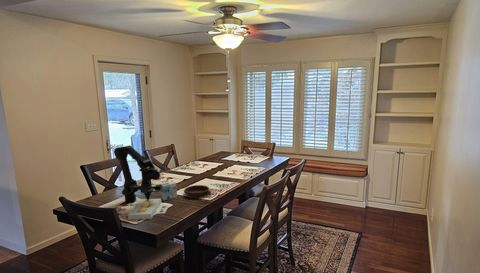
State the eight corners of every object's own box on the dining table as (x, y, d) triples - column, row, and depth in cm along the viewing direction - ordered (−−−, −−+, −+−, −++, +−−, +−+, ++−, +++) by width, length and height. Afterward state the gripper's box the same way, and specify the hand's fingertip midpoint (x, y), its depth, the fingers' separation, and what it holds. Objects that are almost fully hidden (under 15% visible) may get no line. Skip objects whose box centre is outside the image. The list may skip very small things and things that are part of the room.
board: (128, 219, 178) (127, 215, 178) (141, 203, 204) (140, 199, 204) (151, 218, 179) (150, 214, 178) (161, 202, 204) (161, 198, 204)
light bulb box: (163, 200, 208) (162, 186, 206) (160, 198, 213) (158, 183, 212) (177, 197, 214) (176, 182, 212) (173, 194, 220) (172, 180, 218)
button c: (144, 207, 196) (144, 201, 196) (146, 204, 200) (146, 199, 200) (151, 207, 196) (150, 201, 196) (152, 204, 200) (152, 199, 200)
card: (156, 213, 186) (156, 212, 185) (161, 206, 197) (161, 205, 197) (164, 213, 186) (164, 212, 186) (168, 206, 198) (168, 205, 197)
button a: (138, 216, 182) (137, 210, 182) (140, 213, 186) (139, 207, 186) (145, 216, 182) (144, 209, 182) (147, 213, 187) (146, 207, 186)
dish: (204, 200, 205) (204, 194, 204) (177, 197, 213) (177, 191, 212) (215, 192, 221) (215, 186, 220) (190, 190, 229) (189, 183, 228)
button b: (141, 209, 189) (140, 203, 188) (143, 207, 193) (142, 201, 193) (148, 209, 189) (147, 203, 188) (149, 206, 193) (149, 201, 193)
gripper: (127, 182, 187) (130, 205, 190) (157, 181, 187) (159, 204, 190) (133, 177, 198) (135, 199, 201) (161, 176, 198) (163, 198, 201)
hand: (148, 200), depth 198 cm, fingers closed, pressing on button c
